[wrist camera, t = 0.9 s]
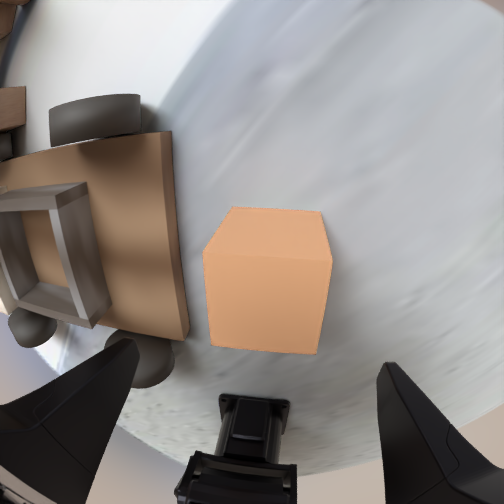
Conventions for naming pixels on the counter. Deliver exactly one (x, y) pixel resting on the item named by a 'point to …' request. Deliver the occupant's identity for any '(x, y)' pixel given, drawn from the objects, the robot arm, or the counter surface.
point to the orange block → (267, 280)
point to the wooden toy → (12, 98)
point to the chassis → (94, 233)
